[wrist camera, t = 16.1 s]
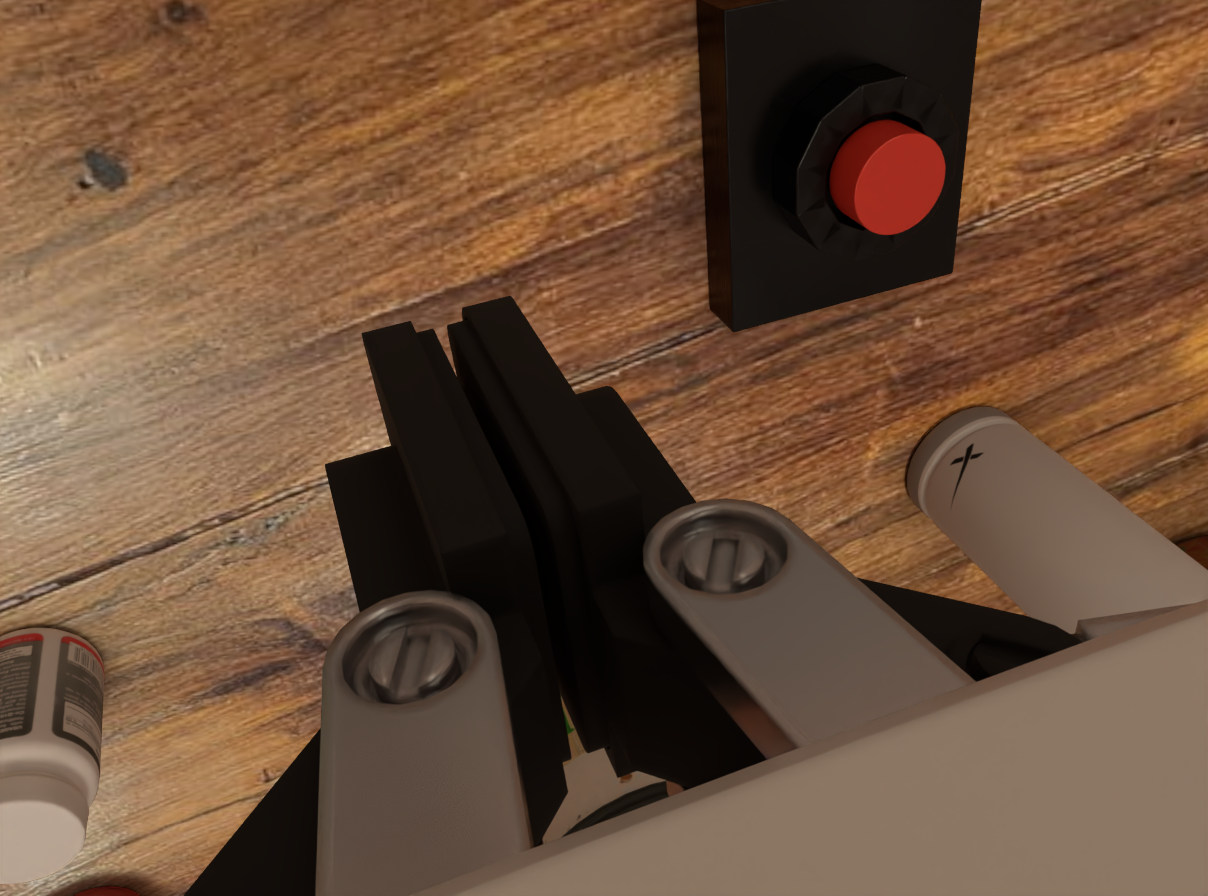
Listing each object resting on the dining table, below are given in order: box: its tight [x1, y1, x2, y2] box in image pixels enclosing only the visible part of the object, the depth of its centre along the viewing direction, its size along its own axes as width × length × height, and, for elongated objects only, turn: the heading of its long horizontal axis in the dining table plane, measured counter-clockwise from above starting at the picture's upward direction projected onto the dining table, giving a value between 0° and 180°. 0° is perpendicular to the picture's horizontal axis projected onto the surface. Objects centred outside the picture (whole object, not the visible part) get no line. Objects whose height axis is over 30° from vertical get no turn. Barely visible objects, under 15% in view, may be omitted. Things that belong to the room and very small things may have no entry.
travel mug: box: [907, 407, 1208, 634], centre depth 45 cm, size 6×7×20 cm
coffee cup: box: [543, 697, 669, 844], centre depth 43 cm, size 10×10×15 cm
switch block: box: [697, 0, 982, 332], centre depth 39 cm, size 12×10×4 cm
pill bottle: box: [0, 628, 105, 884], centre depth 37 cm, size 5×5×8 cm
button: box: [829, 120, 945, 235], centre depth 37 cm, size 4×4×2 cm
